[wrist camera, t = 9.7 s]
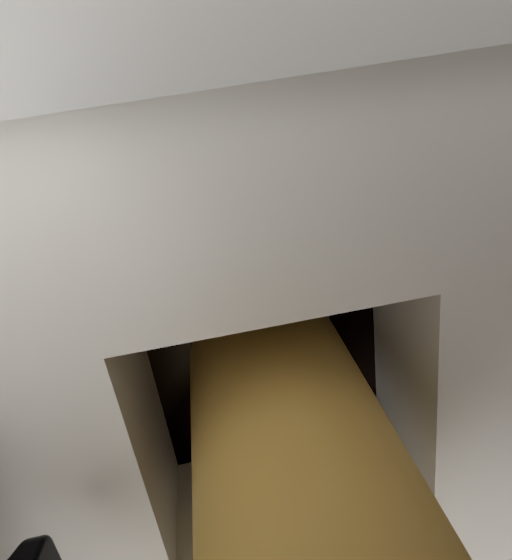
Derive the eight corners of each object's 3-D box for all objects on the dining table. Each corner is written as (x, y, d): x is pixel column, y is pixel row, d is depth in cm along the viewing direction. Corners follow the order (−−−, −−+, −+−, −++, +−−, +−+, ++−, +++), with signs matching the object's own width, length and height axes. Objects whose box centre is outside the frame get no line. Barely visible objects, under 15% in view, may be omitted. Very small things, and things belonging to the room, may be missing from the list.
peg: (204, 429, 13) (227, 856, 6) (175, 305, 12) (159, 689, 4) (341, 401, 14) (522, 778, 6) (332, 276, 12) (562, 591, 5)
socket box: (56, 610, 15) (-13, 905, 10) (-210, 83, 9) (-865, 96, 3) (518, 505, 16) (684, 717, 11) (591, -31, 10) (1093, -163, 4)
